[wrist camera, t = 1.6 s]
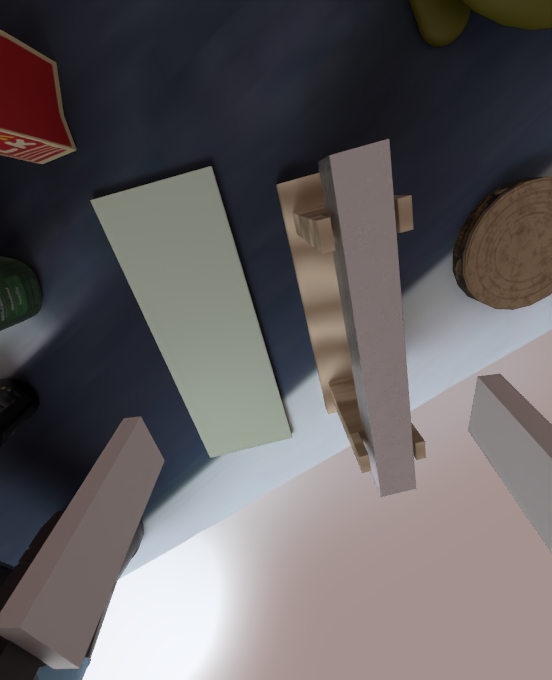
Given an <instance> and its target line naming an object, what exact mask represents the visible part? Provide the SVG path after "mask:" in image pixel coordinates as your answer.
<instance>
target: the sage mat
mask: <svg viewBox="0 0 552 680" xmlns="http://www.w3.org/2000/svg"><path fill="white" fill-rule="evenodd" d="M90 201H91V203H92V206H93V208H94V210H95V212H96V214H97V216H98V218H99V221H100V223H101V225H102V227H103V229H104V231H105V233H106V236H107V238H108V240H109V242H110V244H111V246H112V248H113V251H114V253H115V255H116V257H117V259H118V261H119V263H120V266H121V268H122V270H123V272H124V274H125V276H126V278H127V281H128V283H129V285H130V287H131V289H132V291H133V293H134V296H135V298H136V300H137V302H138V304H139V306H140V308H141V310H142V313H143V315H144V317H145V319H146V321H147V323H148V325H149V328H150V330H151V332H152V334H153V336H154V338H155V340H156V343H157V345H158V347H159V349H160V351H161V353H162V355H163V358H164V360H165V362H166V364H167V366H168V368H169V370H170V373H171V375H172V377H173V379H174V381H175V383H176V385H177V388H178V390H179V392H180V394H181V396H182V398H183V400H184V403H185V405H186V407H187V409H188V411H189V413H190V415H191V418H192V420H193V422H194V424H195V426H196V428H197V430H198V433H199V435H200V437H201V439H202V441H203V443H204V445H205V447H206V450H207V452H208V454H209V456H210V458H212V457H216V456H220V455H224V454H228V453H232V452H236V451H240V450H244V449H248V448H252V447H256V446H260V445H264V444H268V443H272V442H276V441H280V440H284V439H288V438H292V434H291V430H290V427H289V423H288V420H287V417H286V413H285V410H284V407H283V403H282V400H281V397H280V393H279V390H278V386H277V383H276V380H275V376H274V373H273V370H272V366H271V363H270V360H269V356H268V353H267V350H266V346H265V343H264V339H263V336H262V333H261V329H260V326H259V323H258V319H257V316H256V313H255V309H254V306H253V303H252V299H251V296H250V292H249V289H248V286H247V282H246V279H245V276H244V272H243V269H242V266H241V262H240V259H239V255H238V252H237V249H236V245H235V242H234V239H233V235H232V232H231V229H230V225H229V222H228V219H227V215H226V212H225V208H224V205H223V202H222V198H221V195H220V192H219V188H218V185H217V182H216V178H215V175H214V171H213V168H212V166H209V167H206V168H202V169H199V170H195V171H192V172H188V173H185V174H181V175H178V176H174V177H171V178H167V179H164V180H160V181H156V182H153V183H149V184H146V185H142V186H139V187H135V188H132V189H128V190H125V191H121V192H118V193H114V194H111V195H107V196H104V197H100V198H97V199H93V200H90Z"/></svg>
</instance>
